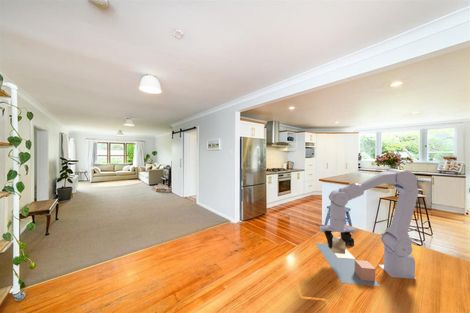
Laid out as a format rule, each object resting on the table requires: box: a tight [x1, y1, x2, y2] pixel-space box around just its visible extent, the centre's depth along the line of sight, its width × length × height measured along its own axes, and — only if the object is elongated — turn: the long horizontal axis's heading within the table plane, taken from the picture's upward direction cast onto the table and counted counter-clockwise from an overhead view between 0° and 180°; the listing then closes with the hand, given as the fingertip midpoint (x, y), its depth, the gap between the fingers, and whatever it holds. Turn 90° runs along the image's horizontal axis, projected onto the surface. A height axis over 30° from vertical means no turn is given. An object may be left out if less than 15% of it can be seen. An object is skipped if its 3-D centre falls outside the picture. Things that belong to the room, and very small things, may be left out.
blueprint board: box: [315, 242, 381, 287], centre depth 84 cm, size 14×30×1 cm, turn 174°
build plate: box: [346, 237, 355, 247], centre depth 99 cm, size 12×7×5 cm, turn 19°
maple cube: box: [328, 236, 346, 254], centre depth 81 cm, size 5×5×5 cm
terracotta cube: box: [354, 259, 377, 281], centre depth 73 cm, size 5×5×5 cm
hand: (336, 247), depth 81 cm, fingers closed on maple cube, 5 cm apart
